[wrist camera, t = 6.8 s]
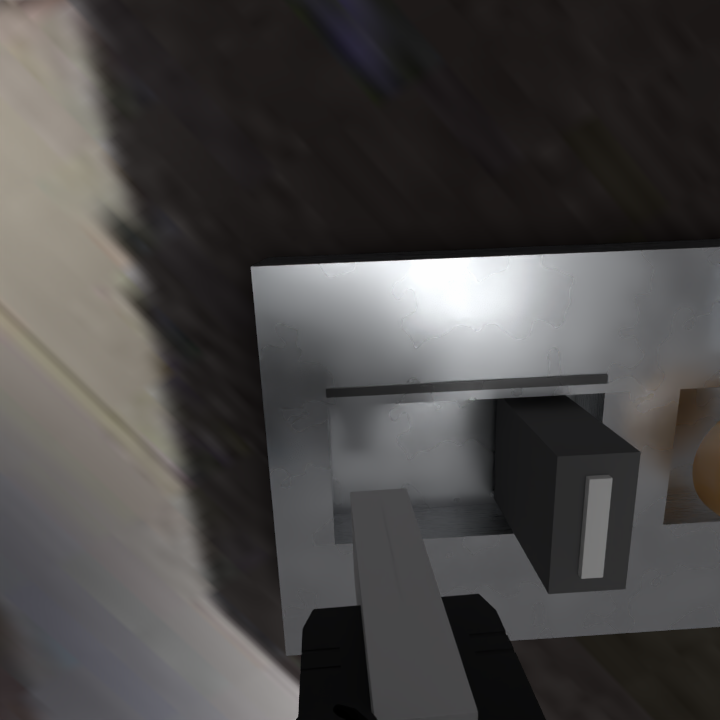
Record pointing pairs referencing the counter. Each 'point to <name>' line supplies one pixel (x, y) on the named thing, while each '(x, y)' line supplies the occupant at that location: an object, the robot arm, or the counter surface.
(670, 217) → the counter surface
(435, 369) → the panel
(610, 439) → the slider knob
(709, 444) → the orange button
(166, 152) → the counter surface
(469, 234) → the counter surface
